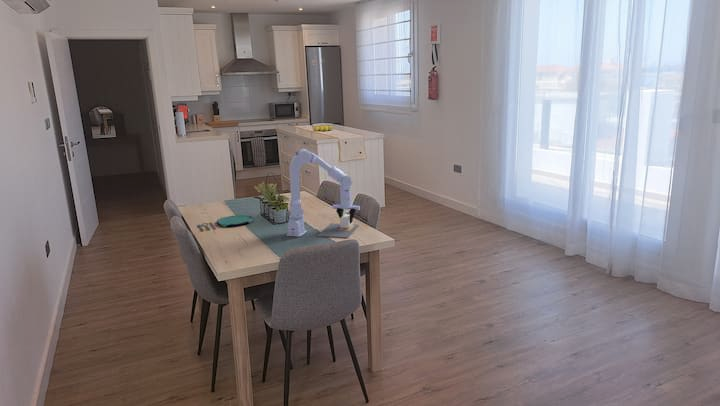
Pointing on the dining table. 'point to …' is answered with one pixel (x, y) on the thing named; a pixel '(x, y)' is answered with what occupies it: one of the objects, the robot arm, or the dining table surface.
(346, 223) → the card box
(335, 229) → the mat
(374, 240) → the dining table surface
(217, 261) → the dining table surface
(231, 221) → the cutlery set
